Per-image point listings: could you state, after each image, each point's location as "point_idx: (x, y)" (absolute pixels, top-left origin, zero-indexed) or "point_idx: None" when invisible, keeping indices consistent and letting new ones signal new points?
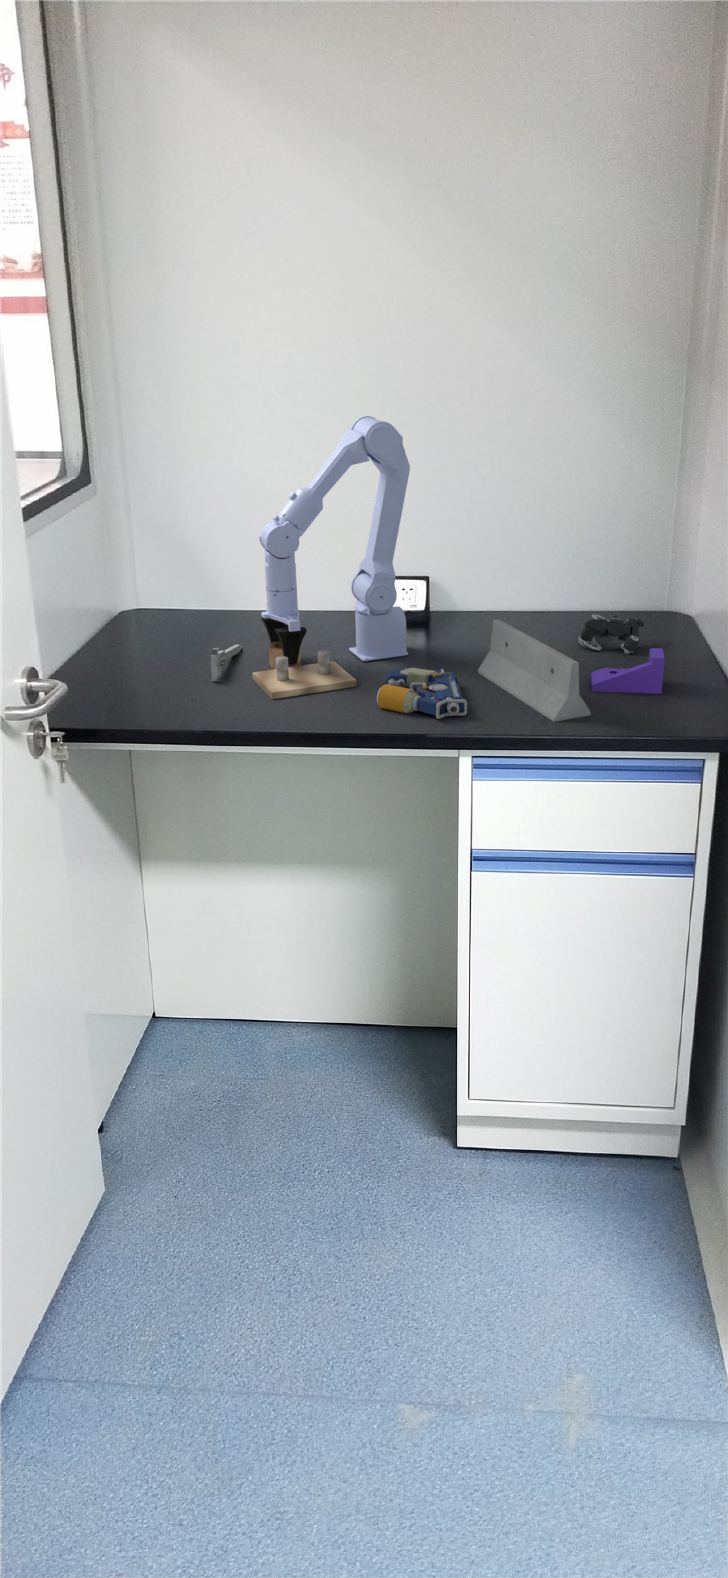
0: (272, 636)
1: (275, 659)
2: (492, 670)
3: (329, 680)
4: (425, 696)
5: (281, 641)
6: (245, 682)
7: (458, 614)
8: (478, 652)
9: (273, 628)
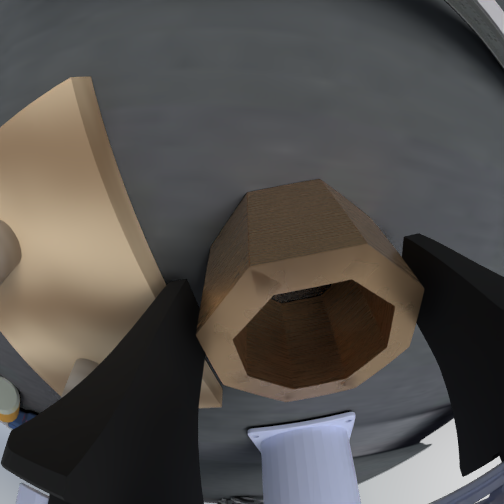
0: (466, 298)
1: (235, 235)
2: None
3: (42, 363)
4: (13, 421)
5: (75, 398)
6: (51, 51)
7: (412, 453)
8: (256, 479)
9: (493, 354)
